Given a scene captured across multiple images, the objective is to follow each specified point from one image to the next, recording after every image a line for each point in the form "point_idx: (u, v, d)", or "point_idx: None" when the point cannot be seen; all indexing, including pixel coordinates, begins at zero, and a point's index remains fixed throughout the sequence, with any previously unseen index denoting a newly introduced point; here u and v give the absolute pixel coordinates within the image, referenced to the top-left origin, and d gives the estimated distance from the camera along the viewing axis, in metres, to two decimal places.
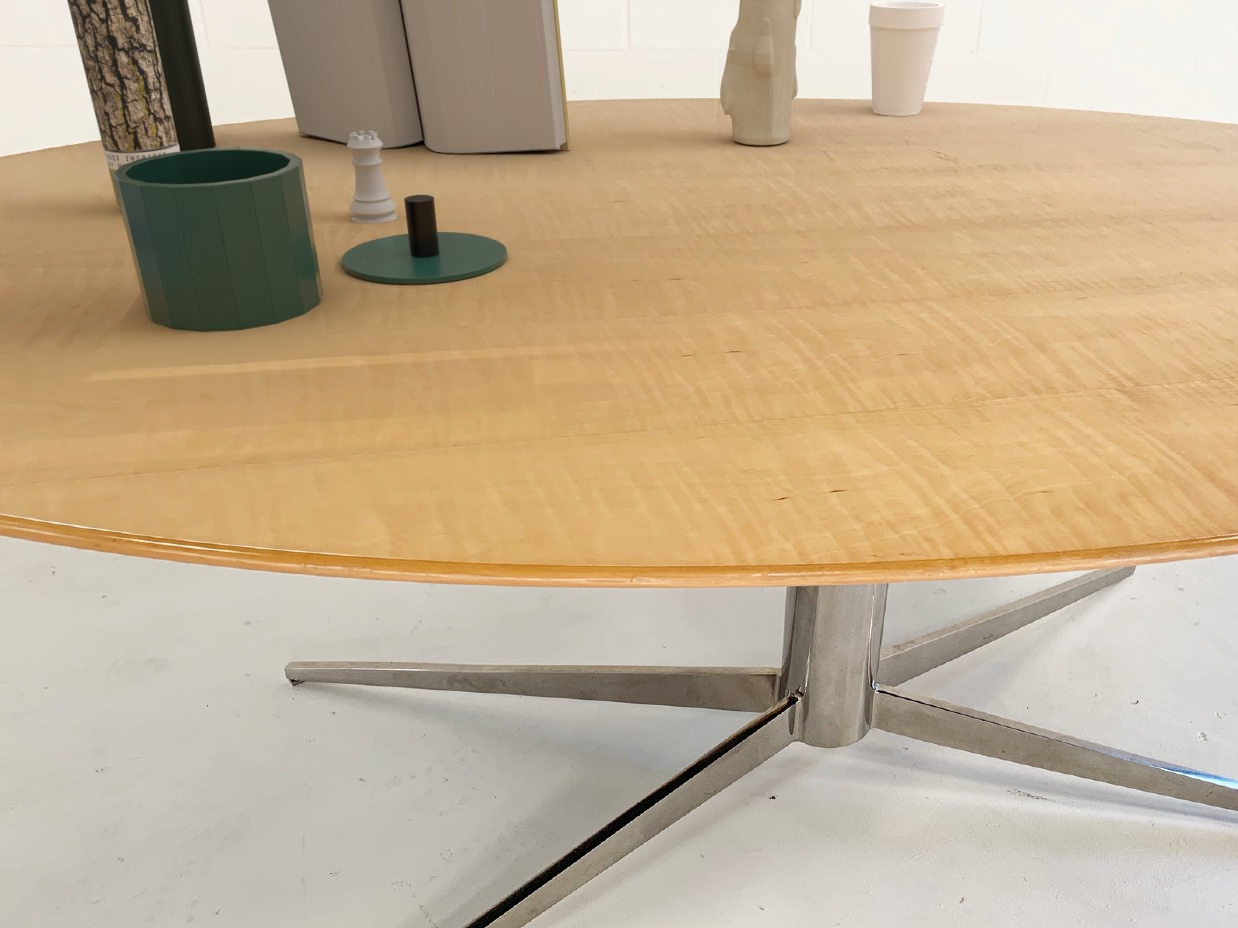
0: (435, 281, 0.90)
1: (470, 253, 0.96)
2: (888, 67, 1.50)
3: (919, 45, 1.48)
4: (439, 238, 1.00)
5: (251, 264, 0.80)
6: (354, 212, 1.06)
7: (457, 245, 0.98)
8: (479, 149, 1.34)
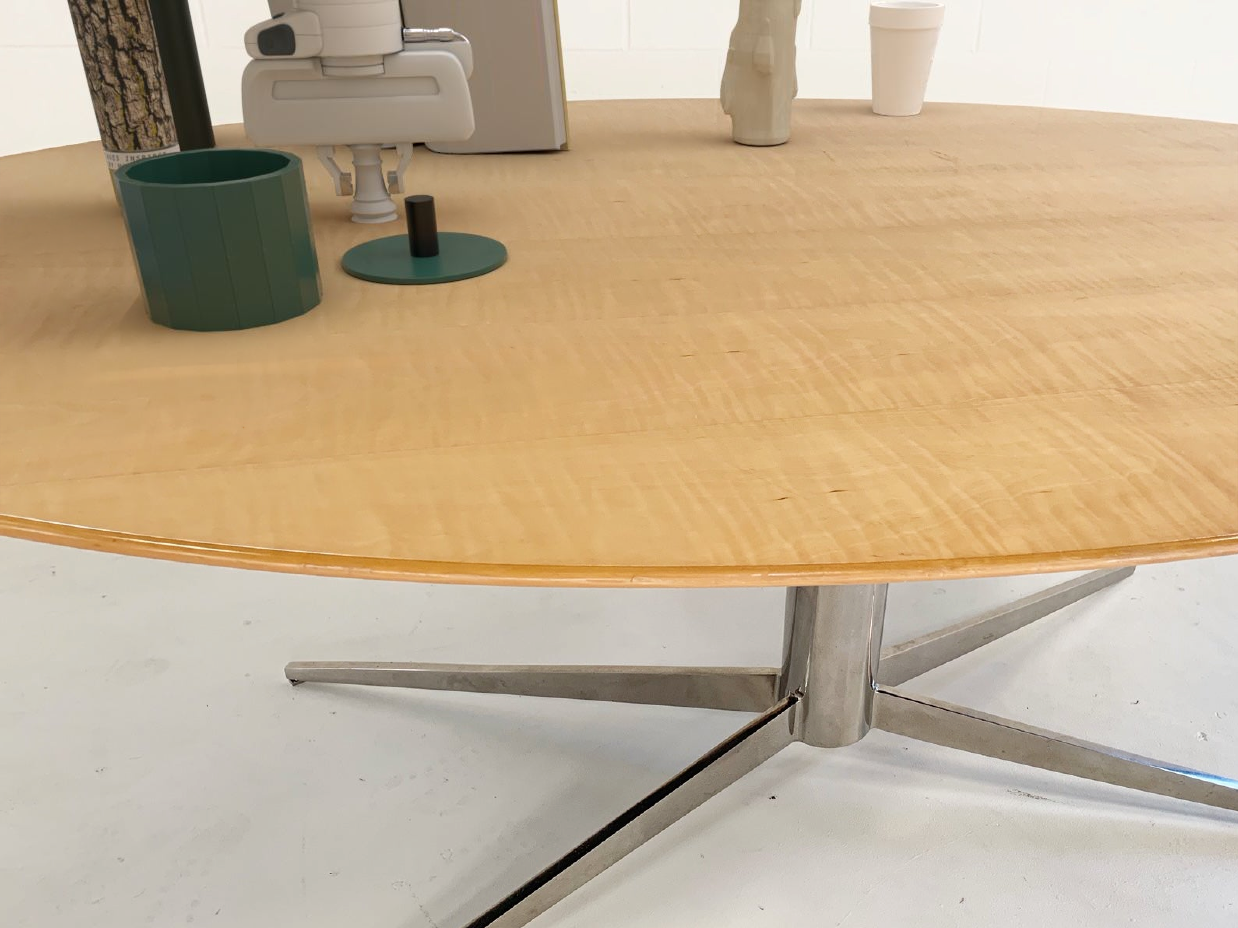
0: (435, 281, 0.90)
1: (470, 253, 0.96)
2: (888, 67, 1.50)
3: (919, 45, 1.48)
4: (439, 238, 1.00)
5: (251, 264, 0.80)
6: (354, 212, 1.06)
7: (457, 245, 0.98)
8: (479, 149, 1.34)
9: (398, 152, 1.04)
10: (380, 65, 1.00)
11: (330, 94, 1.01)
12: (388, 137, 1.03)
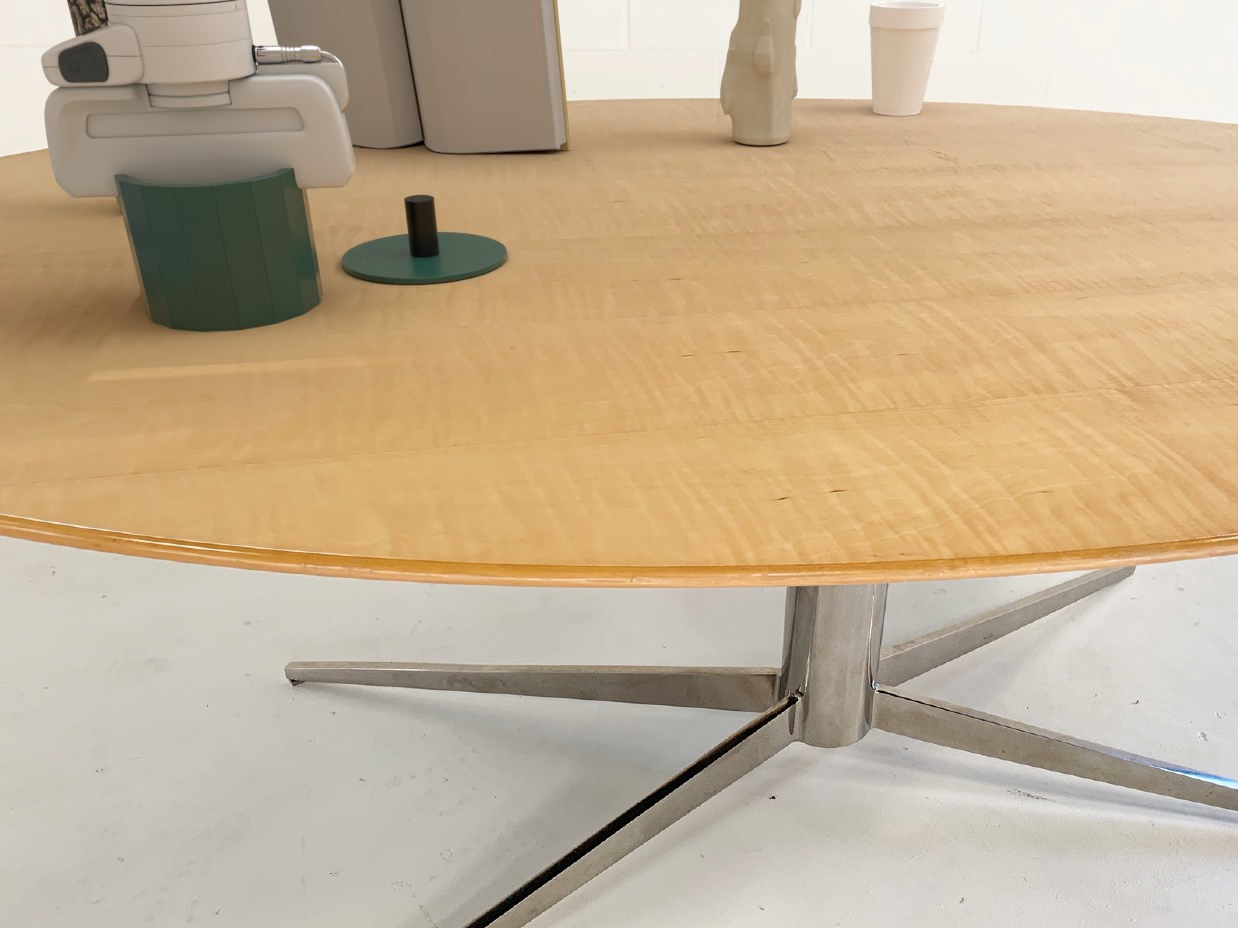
0: (435, 281, 0.90)
1: (470, 253, 0.96)
2: (888, 67, 1.50)
3: (919, 45, 1.48)
4: (439, 238, 1.00)
5: (251, 264, 0.80)
6: None
7: (457, 245, 0.98)
8: (479, 149, 1.34)
9: None
10: (224, 94, 0.77)
11: (163, 130, 0.79)
12: None
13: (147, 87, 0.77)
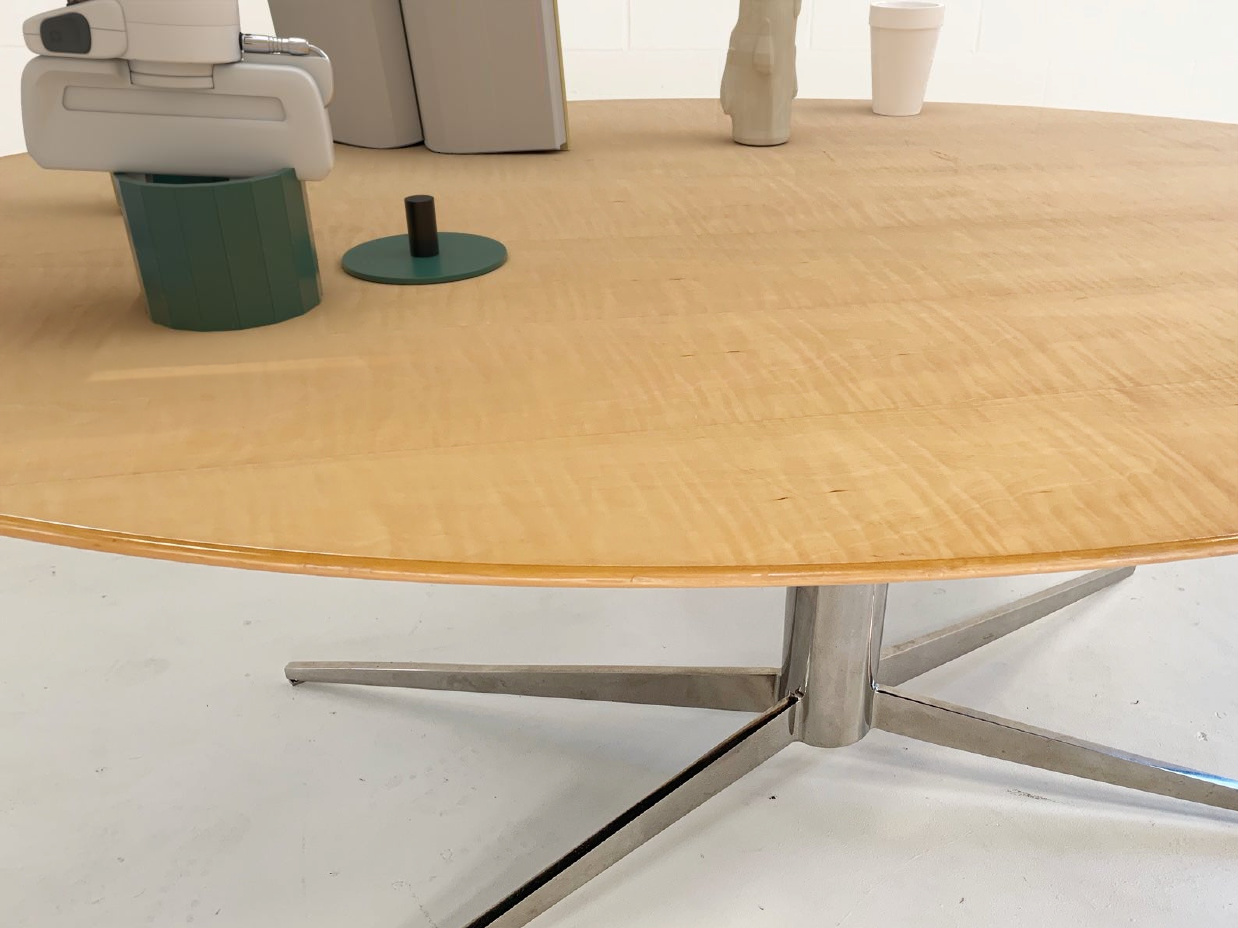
0: (435, 281, 0.90)
1: (470, 253, 0.96)
2: (888, 67, 1.50)
3: (919, 45, 1.48)
4: (439, 238, 1.00)
5: (251, 264, 0.80)
6: None
7: (457, 245, 0.98)
8: (479, 149, 1.34)
9: None
10: (208, 78, 0.77)
11: (142, 109, 0.78)
12: (217, 169, 0.80)
13: (129, 64, 0.76)
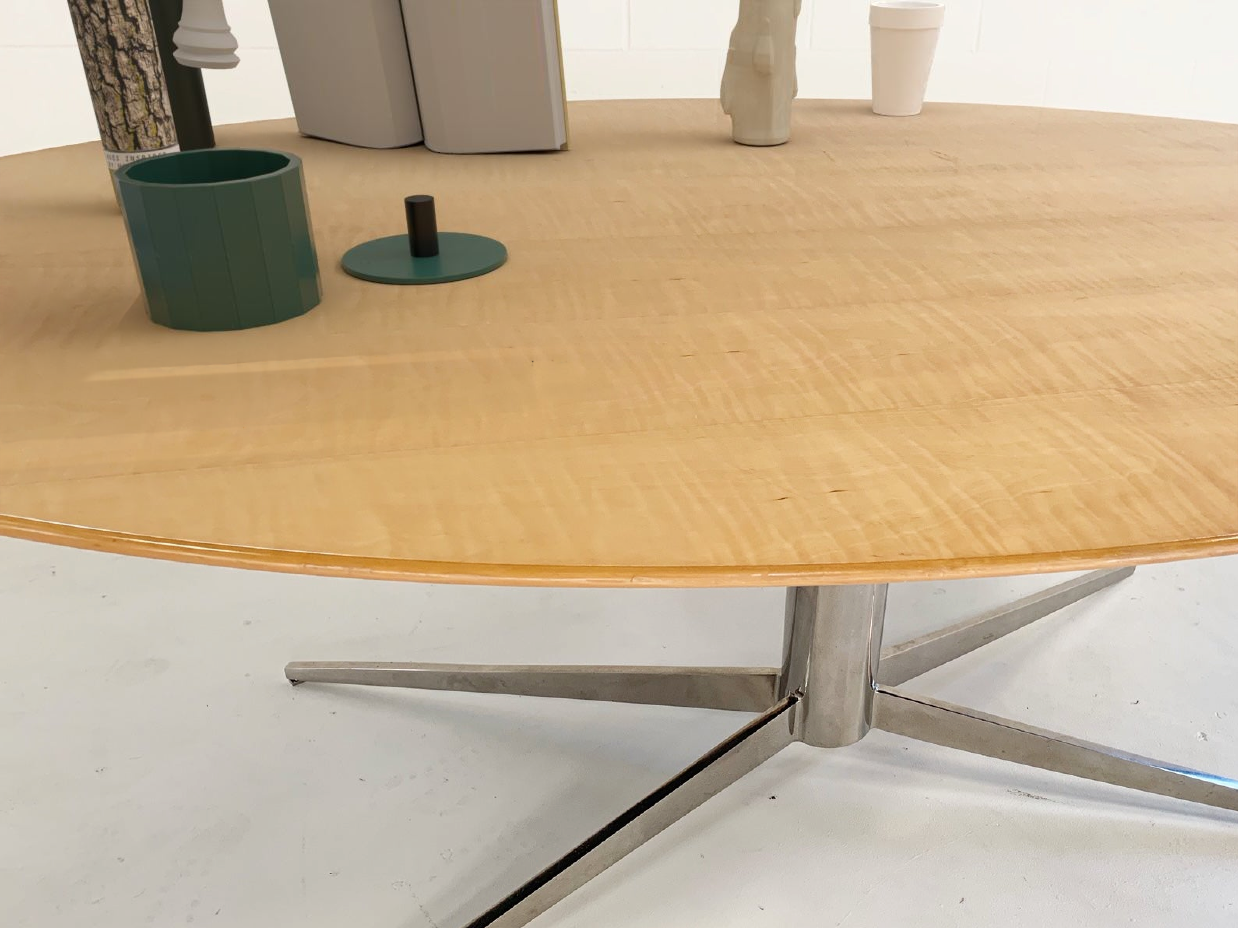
0: (435, 281, 0.90)
1: (470, 253, 0.96)
2: (888, 67, 1.50)
3: (919, 45, 1.48)
4: (439, 238, 1.00)
5: (251, 264, 0.80)
6: (177, 42, 0.78)
7: (457, 245, 0.98)
8: (479, 149, 1.34)
9: None
10: None
11: None
12: None
13: None
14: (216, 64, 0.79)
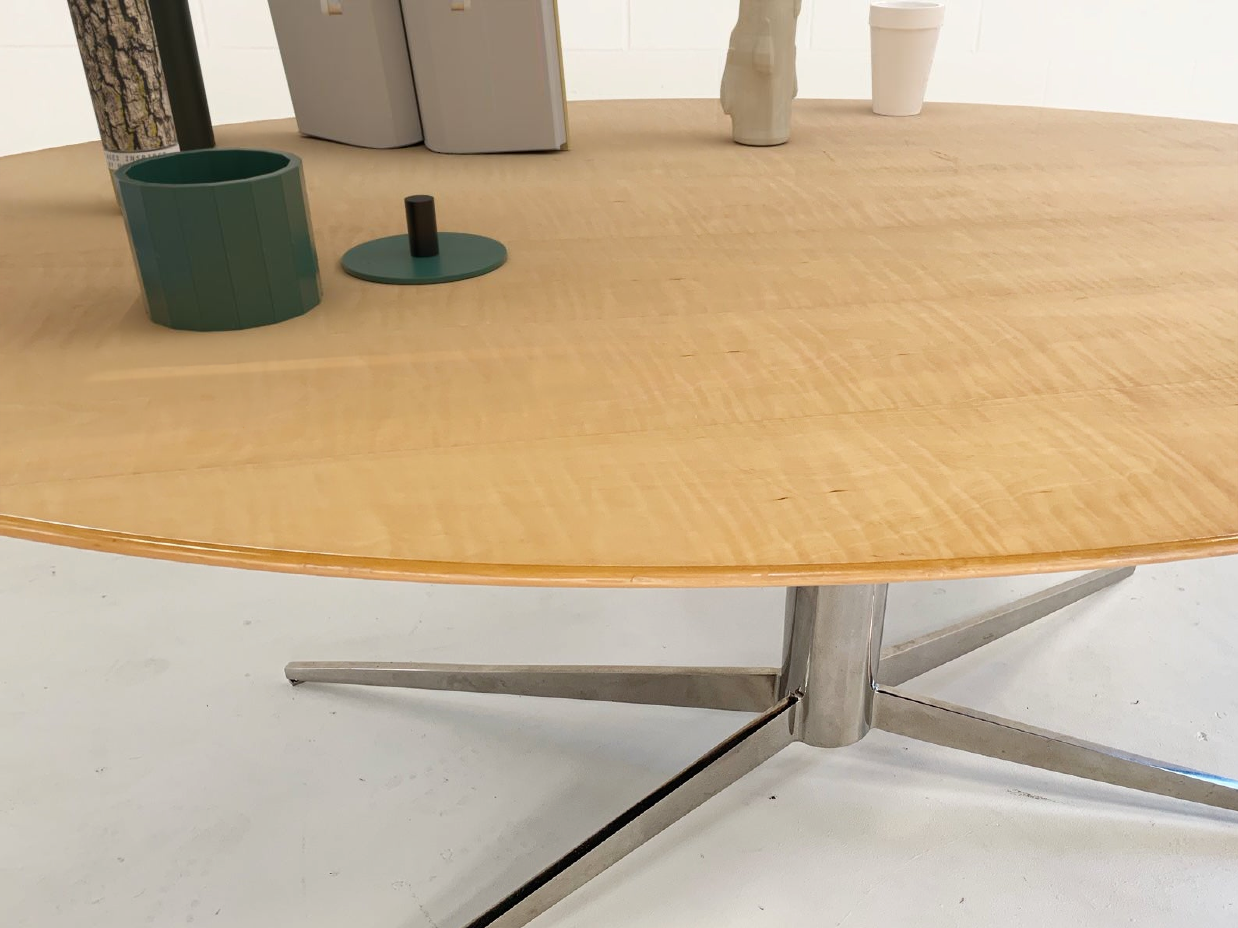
0: (435, 281, 0.90)
1: (470, 253, 0.96)
2: (888, 67, 1.50)
3: (919, 45, 1.48)
4: (439, 238, 1.00)
5: (251, 264, 0.80)
6: None
7: (457, 245, 0.98)
8: (479, 149, 1.34)
9: None
10: None
11: None
12: None
13: None
14: None
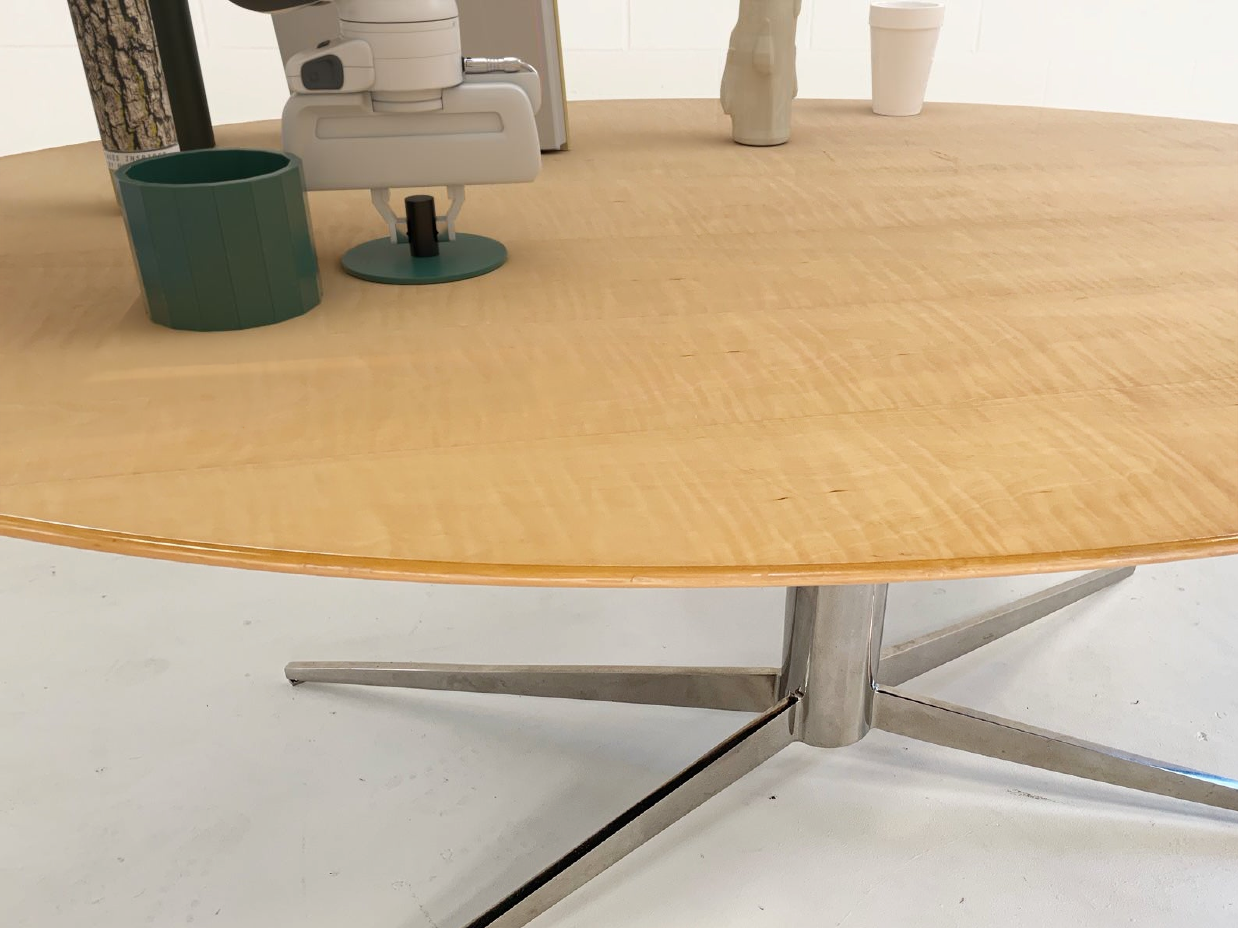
0: (435, 281, 0.90)
1: (471, 253, 0.96)
2: (888, 67, 1.50)
3: (919, 45, 1.48)
4: None
5: (251, 264, 0.80)
6: None
7: (457, 245, 0.98)
8: None
9: (449, 196, 0.93)
10: (438, 100, 0.88)
11: (381, 132, 0.89)
12: (445, 180, 0.91)
13: (371, 94, 0.87)
14: None
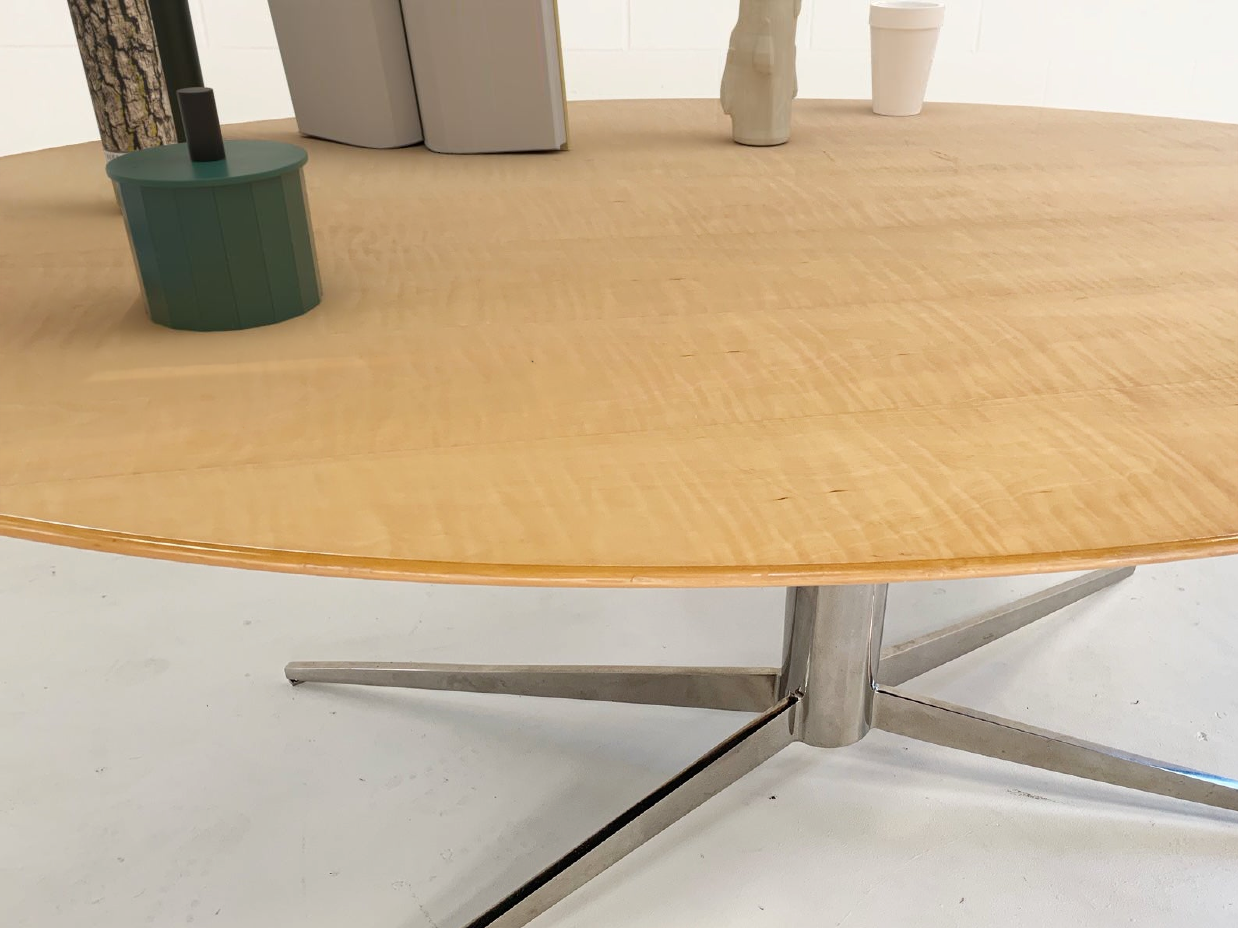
0: (205, 185, 0.76)
1: (262, 158, 0.81)
2: (888, 67, 1.50)
3: (919, 45, 1.48)
4: (235, 145, 0.85)
5: (251, 264, 0.80)
6: None
7: (251, 150, 0.83)
8: (479, 149, 1.34)
9: None
10: None
11: None
12: None
13: None
14: None
